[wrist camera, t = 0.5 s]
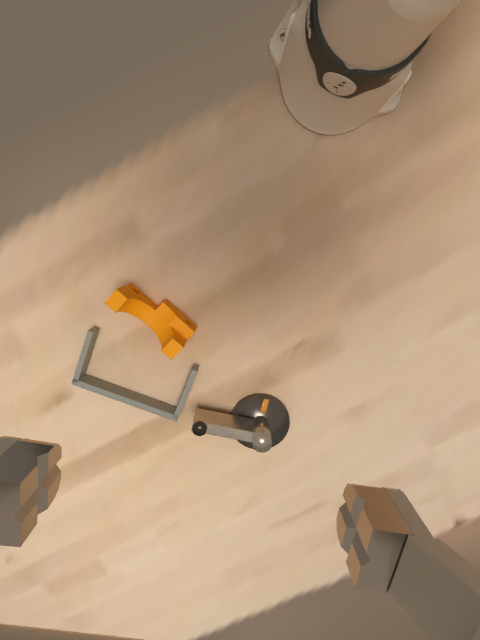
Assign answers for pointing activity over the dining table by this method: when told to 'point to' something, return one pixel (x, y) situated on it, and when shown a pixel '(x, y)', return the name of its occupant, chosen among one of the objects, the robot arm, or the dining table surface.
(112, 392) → the bay
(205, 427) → the crank
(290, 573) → the dining table surface
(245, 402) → the crank base
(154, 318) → the pipe clamp
